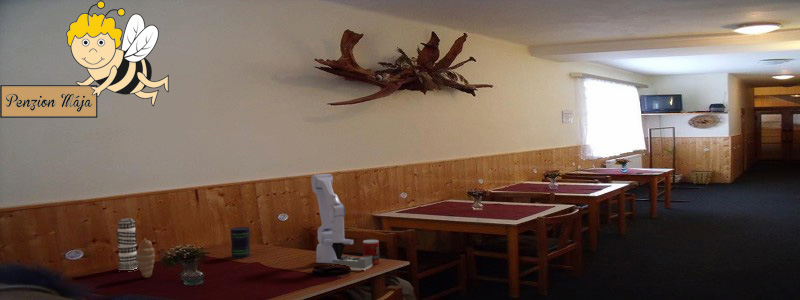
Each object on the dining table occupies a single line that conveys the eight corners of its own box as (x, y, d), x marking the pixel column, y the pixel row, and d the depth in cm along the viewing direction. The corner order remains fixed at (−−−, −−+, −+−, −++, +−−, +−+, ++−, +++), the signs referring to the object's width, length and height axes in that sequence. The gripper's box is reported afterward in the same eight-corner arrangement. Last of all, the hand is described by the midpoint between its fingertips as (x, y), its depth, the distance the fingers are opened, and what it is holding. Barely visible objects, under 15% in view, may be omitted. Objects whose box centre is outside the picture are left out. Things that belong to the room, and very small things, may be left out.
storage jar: (230, 256, 317) (229, 228, 317) (248, 254, 321) (247, 226, 321) (233, 259, 308) (232, 230, 308) (252, 257, 312) (251, 228, 312)
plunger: (339, 265, 278) (339, 258, 278) (345, 263, 284) (345, 255, 284) (348, 266, 276) (348, 258, 276) (354, 263, 283) (353, 255, 282)
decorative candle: (113, 271, 288) (111, 219, 288) (130, 267, 297) (128, 217, 296) (126, 272, 284) (124, 220, 284) (142, 268, 292) (140, 217, 292)
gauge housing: (331, 269, 278) (330, 258, 278) (339, 264, 288) (339, 254, 287) (364, 270, 273) (364, 259, 273) (372, 265, 282) (372, 255, 282)
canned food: (372, 265, 282) (372, 242, 282) (360, 264, 287) (359, 241, 287) (382, 262, 288) (382, 240, 288) (370, 261, 293) (369, 239, 293)
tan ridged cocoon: (138, 276, 275) (136, 237, 274) (156, 274, 277) (154, 236, 277) (136, 280, 266) (135, 240, 266) (155, 278, 269) (154, 239, 269)
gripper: (320, 231, 280) (321, 260, 281) (348, 232, 276) (349, 261, 276) (327, 229, 287) (328, 257, 287) (354, 229, 282) (355, 258, 283)
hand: (339, 259), depth 282 cm, fingers closed
